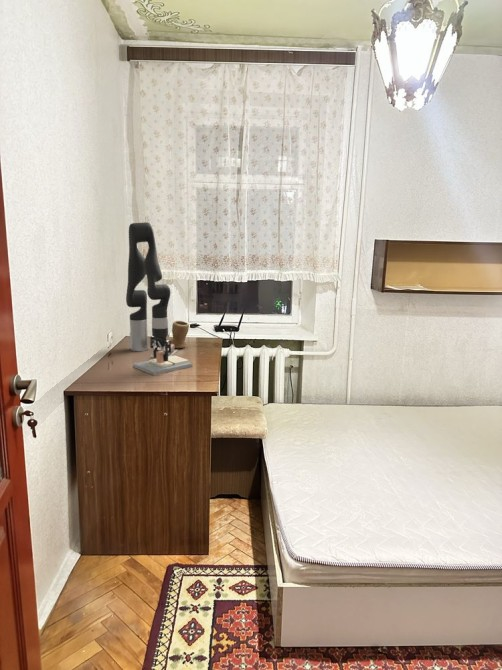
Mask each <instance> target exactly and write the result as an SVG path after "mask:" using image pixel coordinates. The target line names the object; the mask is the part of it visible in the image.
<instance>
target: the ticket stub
mask: <svg viewBox="0 0 502 670" xmlns="http://www.w3.org/2000/svg"><path fill="white" fill-rule="evenodd" d="M163 354H164V353H163V351H158V352H156V359H154V358H152V359H149V360H148V361H149V362H150V363H152V364H155V365H158V366H160V367H168V366H172V365H173V363H171V362H168V361H163Z"/></svg>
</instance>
